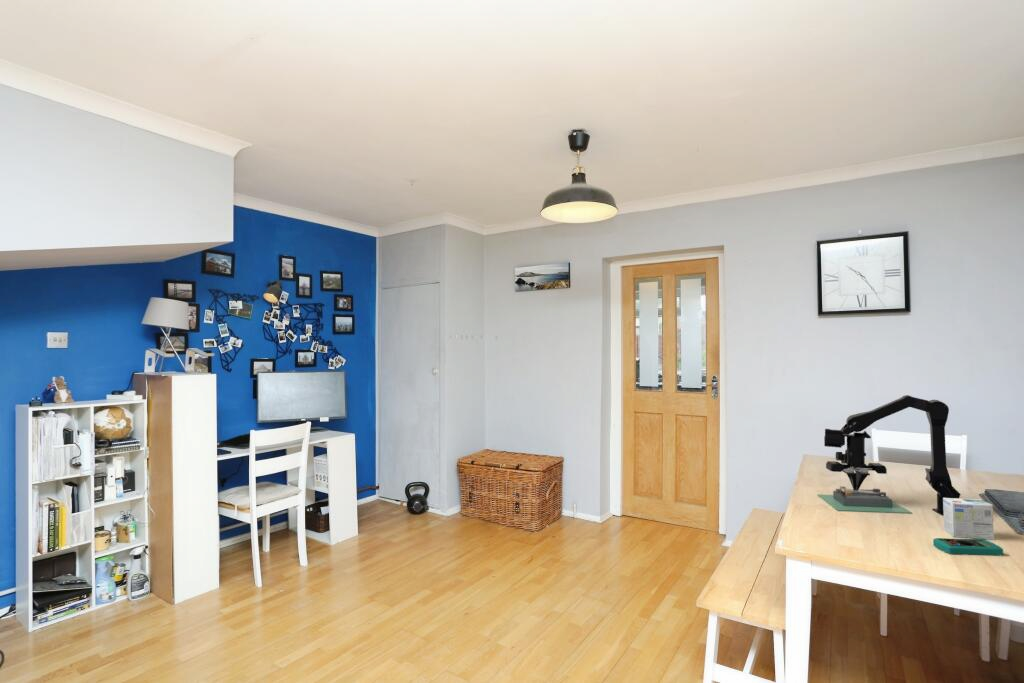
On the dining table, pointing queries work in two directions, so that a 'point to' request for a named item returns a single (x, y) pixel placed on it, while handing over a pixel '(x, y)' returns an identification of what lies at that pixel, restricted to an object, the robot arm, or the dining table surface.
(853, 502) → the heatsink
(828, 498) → the board
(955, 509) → the light bulb box
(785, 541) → the dining table surface
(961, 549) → the digital multimeter
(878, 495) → the grey flat long bar
